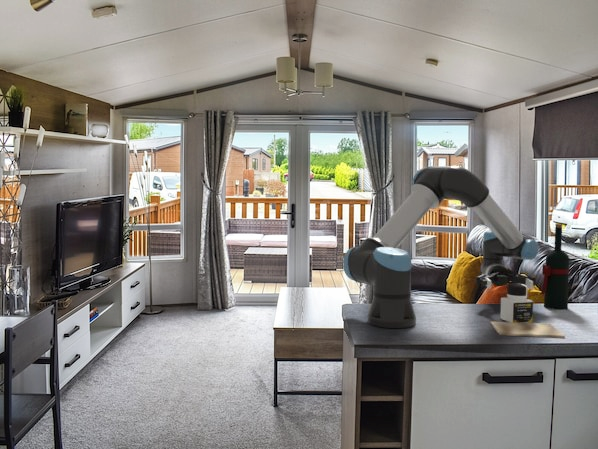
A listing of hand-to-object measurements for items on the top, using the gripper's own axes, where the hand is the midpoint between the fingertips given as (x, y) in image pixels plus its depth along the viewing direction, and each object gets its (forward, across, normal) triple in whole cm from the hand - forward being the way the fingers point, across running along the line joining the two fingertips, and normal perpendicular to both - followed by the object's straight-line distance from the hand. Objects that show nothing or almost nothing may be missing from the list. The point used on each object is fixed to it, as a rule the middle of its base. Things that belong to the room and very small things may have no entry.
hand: (510, 285), depth 192 cm
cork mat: (+22, 0, -10) cm, 24 cm away
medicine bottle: (+10, 0, -10) cm, 14 cm away
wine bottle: (-13, -18, -10) cm, 24 cm away
